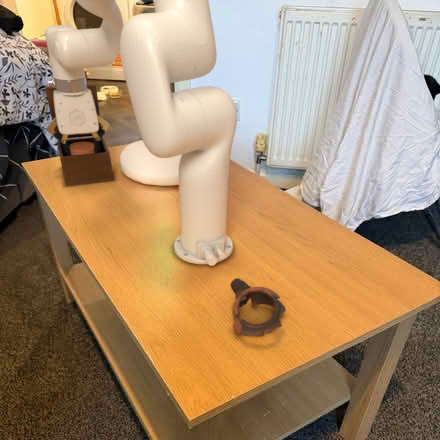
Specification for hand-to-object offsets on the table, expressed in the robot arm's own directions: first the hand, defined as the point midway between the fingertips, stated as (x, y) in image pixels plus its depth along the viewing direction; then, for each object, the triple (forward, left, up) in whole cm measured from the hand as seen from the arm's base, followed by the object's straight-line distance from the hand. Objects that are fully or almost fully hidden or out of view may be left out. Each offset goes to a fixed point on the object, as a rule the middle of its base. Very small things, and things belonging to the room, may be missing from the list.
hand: (83, 154), depth 113 cm
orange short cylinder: (0, 0, -1) cm, 1 cm away
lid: (+4, 0, +10) cm, 11 cm away
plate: (-4, -22, -6) cm, 23 cm away
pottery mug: (-71, -20, -6) cm, 74 cm away
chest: (0, 0, -5) cm, 5 cm away
